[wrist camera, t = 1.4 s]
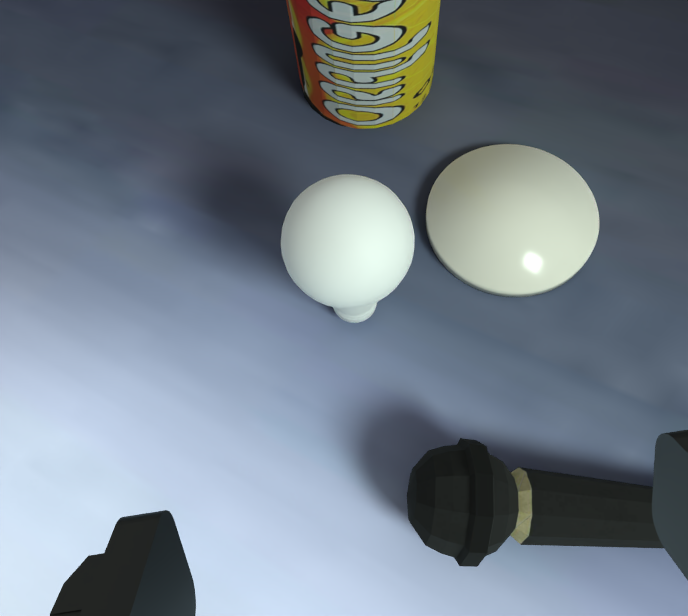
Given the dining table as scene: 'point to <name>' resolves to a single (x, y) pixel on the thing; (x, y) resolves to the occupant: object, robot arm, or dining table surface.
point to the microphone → (519, 506)
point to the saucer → (511, 220)
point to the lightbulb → (347, 243)
